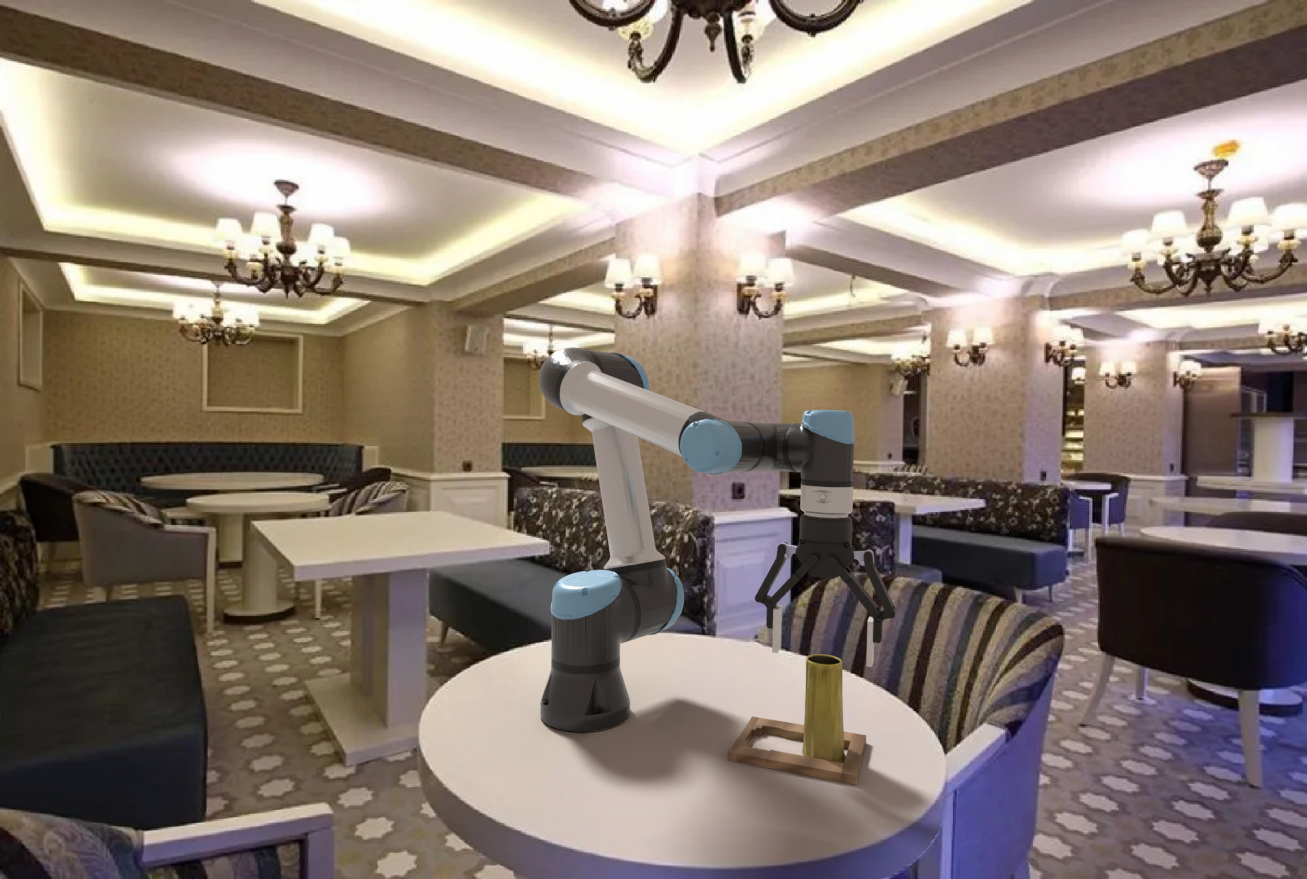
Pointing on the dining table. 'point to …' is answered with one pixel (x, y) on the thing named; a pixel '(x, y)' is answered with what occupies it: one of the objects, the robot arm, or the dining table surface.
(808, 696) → the vase
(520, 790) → the dining table surface
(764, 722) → the keyhole board
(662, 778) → the dining table surface
